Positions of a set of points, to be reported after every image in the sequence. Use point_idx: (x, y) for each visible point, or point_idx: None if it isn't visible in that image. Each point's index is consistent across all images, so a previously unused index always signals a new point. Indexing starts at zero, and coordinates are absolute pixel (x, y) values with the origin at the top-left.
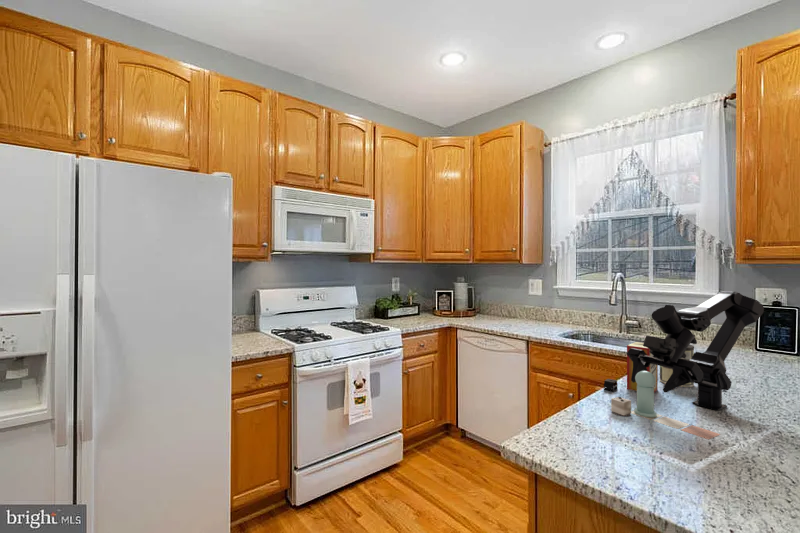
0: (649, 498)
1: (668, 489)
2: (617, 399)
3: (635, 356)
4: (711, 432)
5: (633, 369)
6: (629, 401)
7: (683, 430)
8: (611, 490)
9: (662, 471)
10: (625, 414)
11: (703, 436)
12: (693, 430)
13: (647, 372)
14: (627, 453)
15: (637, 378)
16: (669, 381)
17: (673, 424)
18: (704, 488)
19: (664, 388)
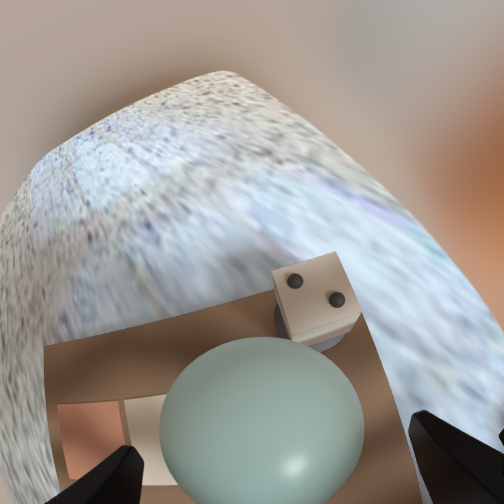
0: (66, 151)
1: (56, 176)
2: (319, 272)
3: None
4: (81, 471)
5: (498, 458)
6: (287, 320)
7: (110, 404)
8: (94, 126)
9: (69, 195)
10: (280, 309)
11: (69, 413)
12: (102, 437)
13: (197, 428)
14: (122, 178)
15: (273, 337)
16: (75, 491)
17: (154, 427)
18: (30, 218)
19: (119, 453)
